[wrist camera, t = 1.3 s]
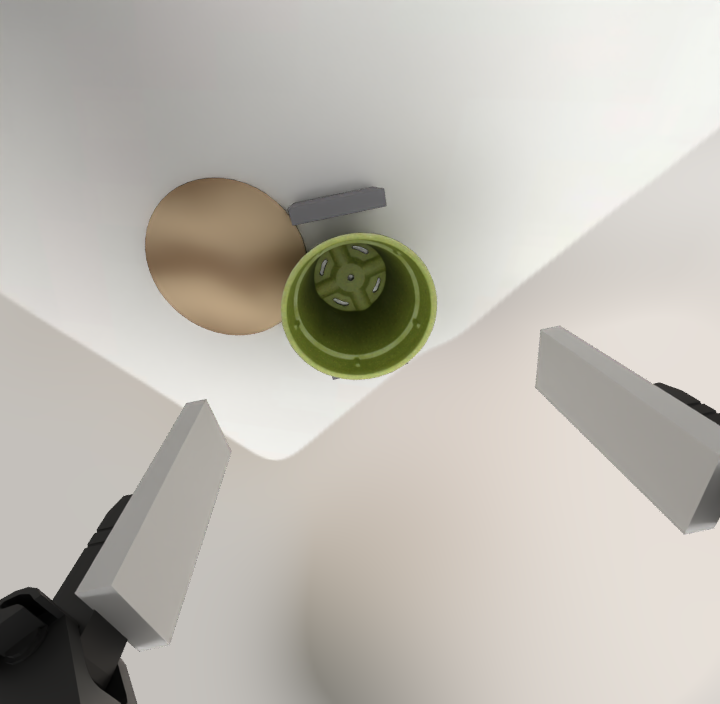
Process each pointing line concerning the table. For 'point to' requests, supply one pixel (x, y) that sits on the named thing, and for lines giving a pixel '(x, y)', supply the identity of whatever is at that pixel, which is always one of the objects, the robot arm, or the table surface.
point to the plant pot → (359, 306)
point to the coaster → (222, 254)
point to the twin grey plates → (337, 206)
